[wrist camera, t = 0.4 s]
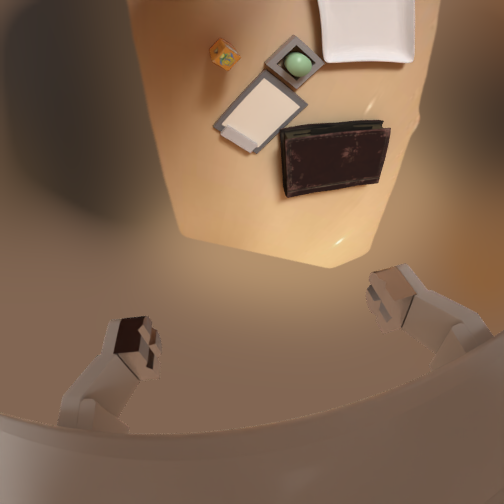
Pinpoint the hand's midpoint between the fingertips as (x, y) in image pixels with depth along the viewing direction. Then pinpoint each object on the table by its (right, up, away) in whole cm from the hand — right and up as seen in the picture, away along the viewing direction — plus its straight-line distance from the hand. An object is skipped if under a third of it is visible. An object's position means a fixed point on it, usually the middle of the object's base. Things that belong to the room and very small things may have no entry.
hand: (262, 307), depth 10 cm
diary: (+19, +26, +52) cm, 61 cm away
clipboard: (+1, +30, +43) cm, 52 cm away
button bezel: (+8, +38, +34) cm, 51 cm away
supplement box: (-6, +38, +30) cm, 49 cm away
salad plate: (+21, +48, +25) cm, 58 cm away
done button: (+8, +37, +33) cm, 50 cm away
